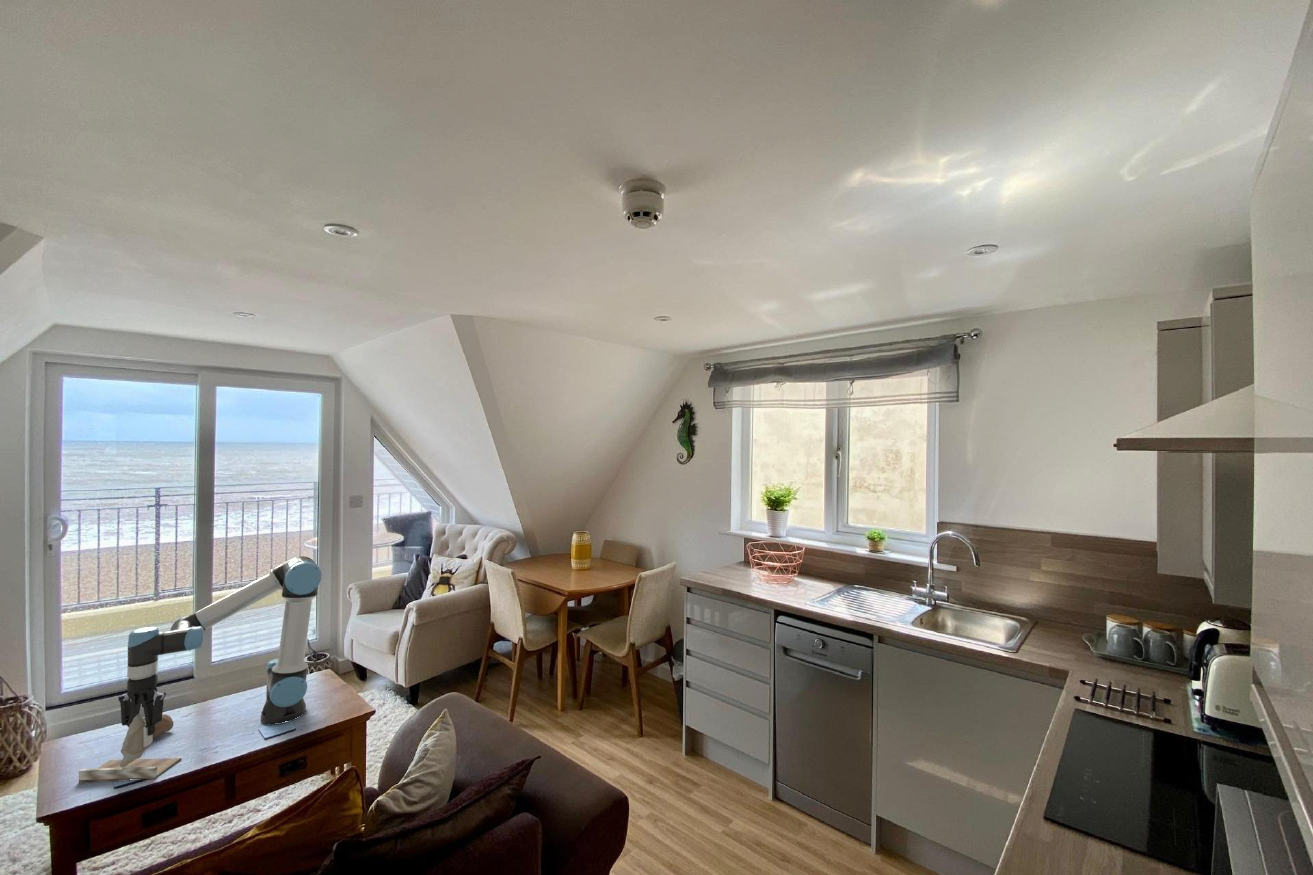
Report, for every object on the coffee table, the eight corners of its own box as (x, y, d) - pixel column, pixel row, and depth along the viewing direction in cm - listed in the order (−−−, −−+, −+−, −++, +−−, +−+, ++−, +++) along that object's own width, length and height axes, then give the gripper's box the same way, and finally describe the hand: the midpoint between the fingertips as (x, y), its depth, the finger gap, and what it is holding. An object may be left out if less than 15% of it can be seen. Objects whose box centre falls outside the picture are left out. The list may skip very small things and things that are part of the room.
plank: (181, 762, 189) (181, 749, 189) (154, 782, 178) (154, 768, 178) (110, 764, 187) (110, 751, 187) (78, 784, 176) (78, 770, 176)
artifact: (124, 768, 177) (126, 720, 178) (115, 768, 177) (118, 720, 179) (154, 755, 186) (156, 709, 187) (146, 754, 186) (148, 709, 188)
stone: (130, 753, 197) (146, 731, 197) (116, 734, 199) (132, 713, 199) (166, 739, 209) (182, 718, 209) (152, 722, 211) (168, 701, 211)
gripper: (177, 669, 188) (176, 737, 188) (126, 670, 187) (125, 739, 187) (159, 679, 181) (158, 750, 181) (106, 680, 180) (104, 751, 180)
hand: (141, 744), depth 184 cm, fingers closed on artifact, 3 cm apart
